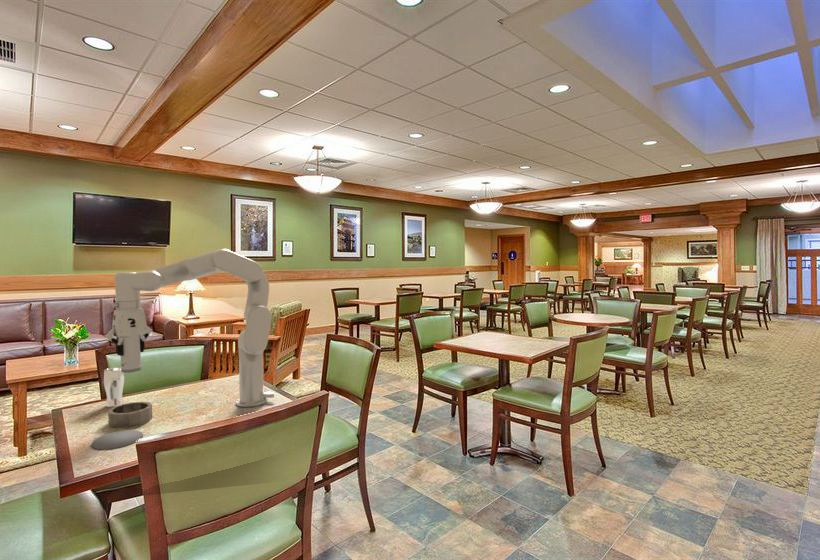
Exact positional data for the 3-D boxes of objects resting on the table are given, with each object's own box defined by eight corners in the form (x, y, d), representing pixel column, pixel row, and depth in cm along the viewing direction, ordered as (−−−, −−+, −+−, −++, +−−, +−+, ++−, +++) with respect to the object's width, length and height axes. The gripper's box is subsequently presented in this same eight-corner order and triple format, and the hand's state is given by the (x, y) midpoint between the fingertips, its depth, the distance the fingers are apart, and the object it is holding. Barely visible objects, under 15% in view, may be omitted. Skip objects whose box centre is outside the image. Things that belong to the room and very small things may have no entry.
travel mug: (121, 374, 154) (118, 319, 153) (121, 370, 159) (118, 317, 158) (141, 371, 157) (138, 317, 156) (141, 367, 163) (138, 315, 162)
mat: (149, 430, 150) (149, 428, 150) (132, 447, 137) (132, 445, 137) (104, 433, 147) (104, 431, 147) (82, 451, 134) (82, 449, 134)
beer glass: (103, 408, 172) (102, 372, 171) (106, 403, 178) (105, 368, 177) (123, 406, 175) (122, 370, 174) (125, 401, 181) (125, 366, 180)
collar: (157, 413, 167) (156, 400, 167) (143, 426, 154) (143, 412, 154) (118, 415, 164) (118, 403, 164) (101, 429, 151) (101, 415, 151)
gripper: (106, 308, 148) (109, 359, 149) (157, 303, 162) (160, 350, 163) (96, 307, 152) (99, 357, 153) (147, 302, 166) (150, 347, 167)
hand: (130, 352), depth 158 cm, fingers closed on travel mug, 6 cm apart
